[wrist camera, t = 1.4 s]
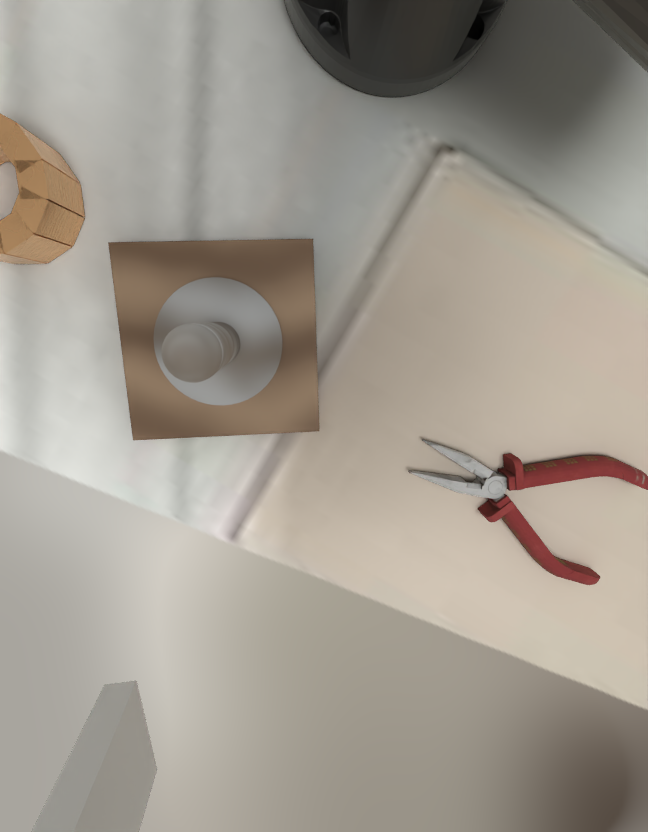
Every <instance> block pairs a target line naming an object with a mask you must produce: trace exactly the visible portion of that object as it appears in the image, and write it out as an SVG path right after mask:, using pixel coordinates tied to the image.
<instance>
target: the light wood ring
mask: <svg viewBox="0 0 648 832" xmlns="http://www.w3.org/2000/svg"><path fill="white" fill-rule="evenodd" d="M4 162H12V164H13V165H14V166H15V169H16V175H17V181H18V187H19V194H18V197H17V199H16V202H15V205H14V207H13V210H12V212H11V214H10V215H8V216H7V217H5V218H4V219H2V220H1V221H0V261H2V262H7V263H12V264H47V263H49V262H51V261H52V260H54V259H55V258H57V257H58V256H60V255H61V254H63V253H64V252H66V251H67V250H69V249H70V248H72V246H73V245H74V243H75V241H76V238H77V236H78V234H79V231H80V229H81V226H82V224H83V222H84V219H85V218H83V217H85V213H84V206H83V199H82V191H81V185H80V182H79V181H78V179H77V178H76V177H75V175H74V174H73V172H72V171H71V169H70V168H69V166H68V165H67V163H66V162H65V161H64V159H63V158H62V156H61V155H60V154H59V153H58V152H57V151H55V150H54V149H52V148H51V147H50V146H48V145H47V144H45V143H44V142H43V141H41V140H40V139H39V138H37V137H36V136H34V135H33V134H32V133H30V132H29V131H27V130H26V129H25V128H23V127H22V126H21V125H19V124H18V123H16V122H15V121H13V120H11V119H9V118H7V117H6V116H4V115H2V114H0V165H1V164H3V163H4Z"/></svg>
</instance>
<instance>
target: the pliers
mask: <svg viewBox="0 0 648 832" xmlns="http://www.w3.org/2000/svg"><path fill="white" fill-rule="evenodd" d="M422 441H423V442H425V443H427V444H428V445H430V446H431V447H433V448H434V449H436V450H437V451H439V452H441V453H442V454H444V455H445V456H447V457H448V458H450V459H451V460H453V461H455V462H456V463H458V464H459V465H461V466H462V467H464V468H465V469H467V470H469V471H470V472H472V473H474V474H476V475H477V479H474V481H473V482H472V483H469V482H466V481H465V480H464V479H463V478H462V477H461V476H454V475H447V474H439V473H430V472H421V471H412V470H409V471H408V472H409V473H411V474H414V475H416V476H418V477H421V478H423V479H426V480H428V481H431V482H433V483H435V484H438V485H440V486H443V487H445V488H448V489H450V490H452V491H455V492H459V493H463V494H467V495H472V496H478V497H485V498H488V501H487V502H485V503H484V504H483V505H482V506H480V507H479V508H478V510H479V511H480V512H481V513H482V515H483V516H484V517H485V518H486V519H487V520H488V521H489V522H495V521H497V520H499V519H500V518H502V519H503V520H504V522H505V523H506V524H507V525H508V527H509V528H510V529H511V531H512V532H513V533H514V535H515V536H516V537H517V538H518V540H519V541H520V542H521V544H522V545H523V546H524V547H525V549H526V550H527V551H528V553H529V554H530V555H531V556H532V558H533V559H534V560H535V561H536V562H537V563H538V564H540V565H541V566H542V567H543V568H544V569H545V570H546V571H548V572H550V573H551V574H553V575H555V576H558V577H561V578H565V579H568V580H572V581H575V582H579V583H582V584H586V585H593V584H596V583H597V582H598V581H599V579H600V576H599V575H598V574H597V573H596V572H594V571H593V570H592V569H590V568H588V567H585V566H582V565H579V564H575V563H572V562H569V561H566V560H562V559H560V558H557V557H555V556H554V555H552V554H551V552H550V551H549V550H548V548H547V547H546V546H545V545H544V543H543V542H542V541H541V539H540V538H539V537H538V535H537V534H536V533H535V531H534V530H533V529H532V527H531V526H530V525H529V523H528V522H527V521H526V520H525V518H524V517H523V516H522V514H521V513H520V512H519V510H518V509H517V508H516V506H515V505H514V503H513V502H512V501H511V500H510V499H509V497H508V496H507V495H506V494H504V493H505V492H506V489H508V490H509V491H511V490H521V489H524V488H529V487H535V486H541V485H547V484H553V483H559V482H565V481H572V480H578V479H584V478H590V477H599V476H608V477H616V478H620V479H623V480H625V481H628V482H630V483H632V484H635V485H637V486H639V487H641V488H644V489H646V490H648V476H647V475H646V474H645V473H644V472H642V471H640V470H638V469H636V468H634V467H632V466H629V465H627V464H625V463H623V462H621V461H619V460H616V459H614V458H611V457H606V456H579V457H572V458H566V459H560V460H554V461H548V462H541V463H535V464H529V465H522V462H521V460H520V459H519V458H518V457H516V456H514V455H513V454H511V453H509V454H503V461H504V468H500V469H498V474H497V473H496V472H495V471H493V470H491V469H490V468H488V467H486V466H485V465H483V464H482V463H480V462H479V461H477V460H475V459H474V458H472V457H471V456H469V455H467V454H465V453H462V452H459V451H456V450H453V449H450V448H447V447H445V446H442V445H439V444H436V443H433V442H430V441H427V440H424V439H422Z"/></svg>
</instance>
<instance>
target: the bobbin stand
mask: <svg viewBox="0 0 648 832" xmlns="http://www.w3.org/2000/svg"><path fill="white" fill-rule="evenodd" d="M108 244H109V252H110V260H111V268H112V276H113V283H114V291H115V299H116V307H117V315H118V323H119V331H120V339H121V347H122V355H123V363H124V371H125V379H126V387H127V395H128V403H129V411H130V419H131V427H132V435H133V440H149V439H170V438H190V437H210V436H231V435H251V434H271V433H292V432H312V431H319V405H318V375H317V345H316V314H315V284H314V254H313V239H278V240H222V241H167V242H111V243H108Z"/></svg>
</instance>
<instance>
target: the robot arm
mask: <svg viewBox="0 0 648 832" xmlns="http://www.w3.org/2000/svg"><path fill="white" fill-rule="evenodd" d="M284 1H285V5H286V8H287V11H288V14H289V16H290V19H291V21H292V24H293V26H294V28H295V30H296V32H297V34H298V35H299V37H300V39H301V41H302V42H303V44H304V45H305V47H306V48H307V50H308V51H309V52H310V53H311V55H312V56H313V57H314V58H315V59H316V61H317V62H318V63H319V64H320V65H321V66H322V67H323V68H324V69H325V70H327V71H328V72H329V73H330V74H331V75H333V76H334V77H335V78H337V79H338V80H340V81H341V82H343V83H345V84H346V85H348V86H350V87H352V88H355V89H357V90H360V91H362V92H365V93H369V94H373V95H378V96H386V97H401V96H409V95H414V94H418V93H421V92H425V91H427V90H430V89H432V88H434V87H436V86H438V85H440V84H442V83H443V82H445V81H447V80H448V79H449V78H451V77H452V76H454V75H455V74H456V73H457V72H458V71H460V70H461V69H462V68H463V67H464V66H465V65H466V64H467V63H468V61H469V60H470V59H471V58H472V57H473V55H474V54H475V53H476V52H477V50H478V49H479V47H480V46H481V45H482V43H483V42H484V40H485V39H486V38H487V36H488V35H489V33H490V32H491V30H492V29H493V27H494V25H495V24H496V22H497V20H498V18H499V16H500V14H501V12H502V10H503V8H504V6H505V3H506V1H507V0H284ZM573 1H574V2H575V3H576V4H577V5H578V6H579V7H580V8H581V9H582V10H583V11H584V12H585V13H586V14H587V15H588V16H590V17H591V18H592V19H593V20H594V21H595V22H596V23H597V24H598V25H599V26H600V27H601V28H602V29H603V30H604V31H605V32H606V33H607V34H608V35H609V36H610V37H611V38H612V39H614V40H615V41H616V42H617V43H618V44H619V45H620V46H621V47H622V48H623V49H624V50H625V51H626V52H627V53H628V54H629V55H630V56H631V57H632V58H633V59H634V60H635V61H636V62H637V63H639V64H640V65H641V66H642V67H643V68H644V69H645V70H646V71H647V72H648V0H573ZM156 771H157V767H156V762H155V758H154V754H153V750H152V745H151V741H150V736H149V733H148V728H147V724H146V719H145V715H144V711H143V706H142V702H141V698H140V694H139V689H138V685H137V681H130V682H122V683H115V684H107V685H104V687H103V689H102V691H101V693H100V695H99V697H98V699H97V701H96V703H95V705H94V707H93V709H92V711H91V713H90V715H89V717H88V719H87V721H86V723H85V725H84V727H83V729H82V731H81V733H80V735H79V737H78V739H77V741H76V743H75V745H74V747H73V749H72V751H71V753H70V755H69V757H68V759H67V761H66V763H65V765H64V767H63V769H62V771H61V773H60V775H59V777H58V779H57V781H56V783H55V785H54V787H53V789H52V791H51V793H50V795H49V797H48V799H47V802H46V803H45V805H44V807H43V809H42V812H41V813H40V815H39V818H38V819H37V821H36V823H35V825H34V828H33V829H32V831H31V832H139V830H140V826H141V823H142V819H143V816H144V813H145V809H146V806H147V802H148V799H149V796H150V792H151V789H152V785H153V782H154V778H155V775H156Z"/></svg>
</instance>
